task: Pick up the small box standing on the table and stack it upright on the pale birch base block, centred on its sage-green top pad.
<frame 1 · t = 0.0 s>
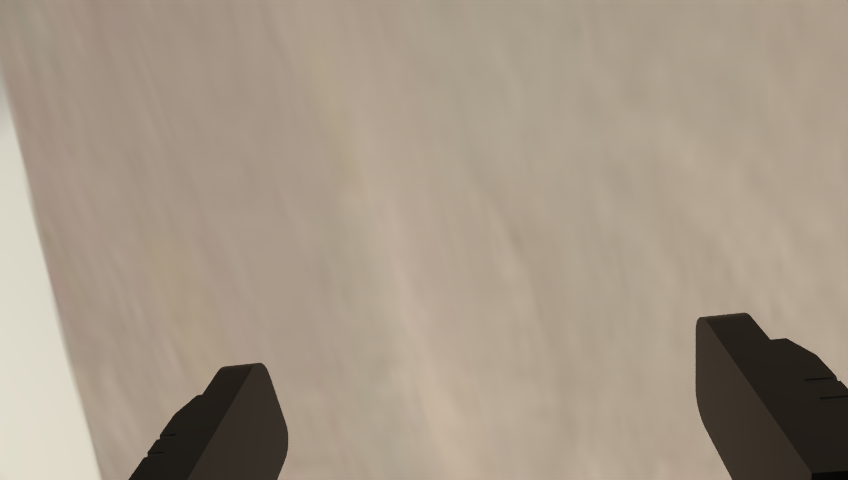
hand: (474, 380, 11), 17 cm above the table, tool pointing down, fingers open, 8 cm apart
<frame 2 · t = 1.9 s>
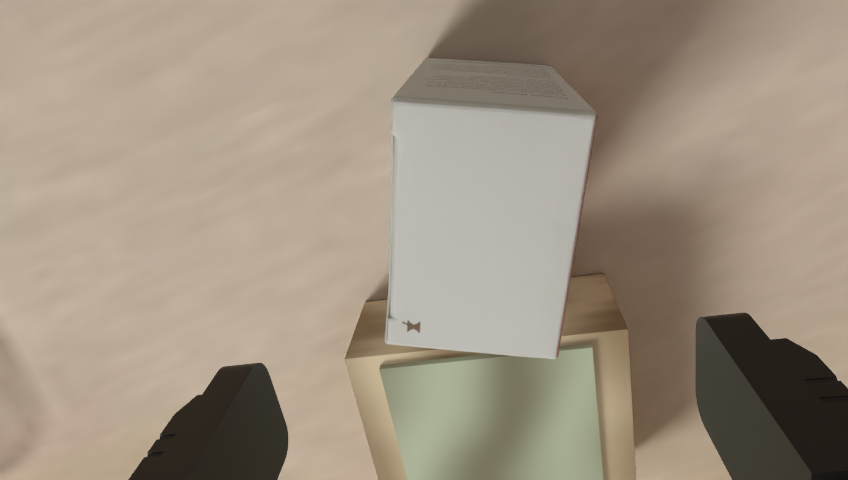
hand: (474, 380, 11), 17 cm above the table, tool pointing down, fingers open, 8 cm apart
small box: (480, 148, 26), on the table
base block: (496, 385, 31), on the table
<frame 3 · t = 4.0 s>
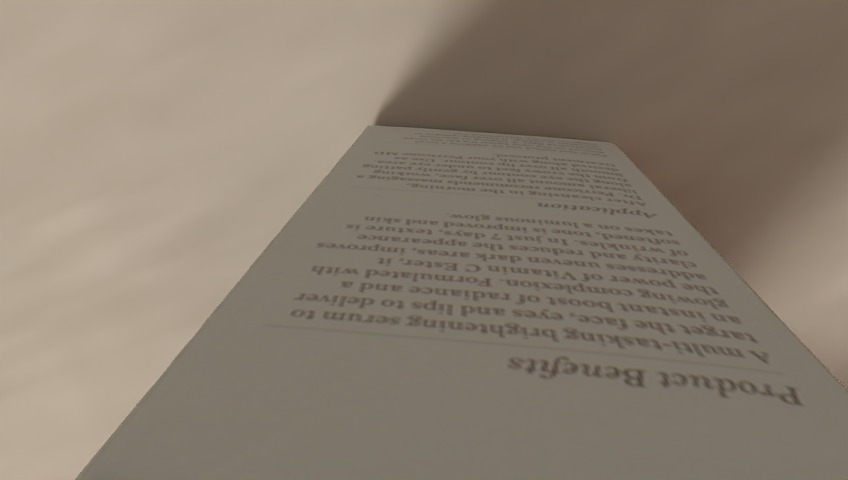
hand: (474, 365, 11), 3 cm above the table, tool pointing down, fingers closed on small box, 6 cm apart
small box: (475, 283, 14), on the table, touching gripper
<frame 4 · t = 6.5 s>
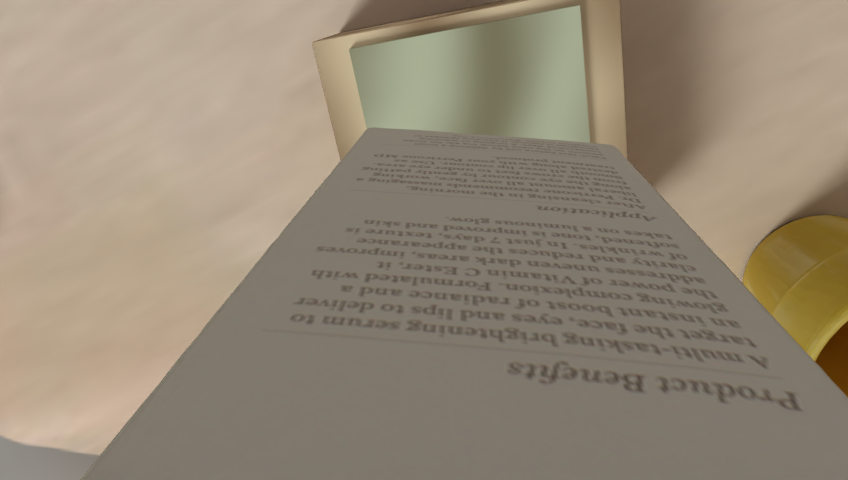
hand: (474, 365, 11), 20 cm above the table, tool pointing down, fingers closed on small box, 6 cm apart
small box: (474, 285, 14), point 16 cm above the table, touching gripper
plant pot: (805, 268, 31), on the table
base block: (480, 134, 29), on the table
when the fingers open (9 cm above the table, at t = 9.3 s): small box moves 1 cm, resting on base block.
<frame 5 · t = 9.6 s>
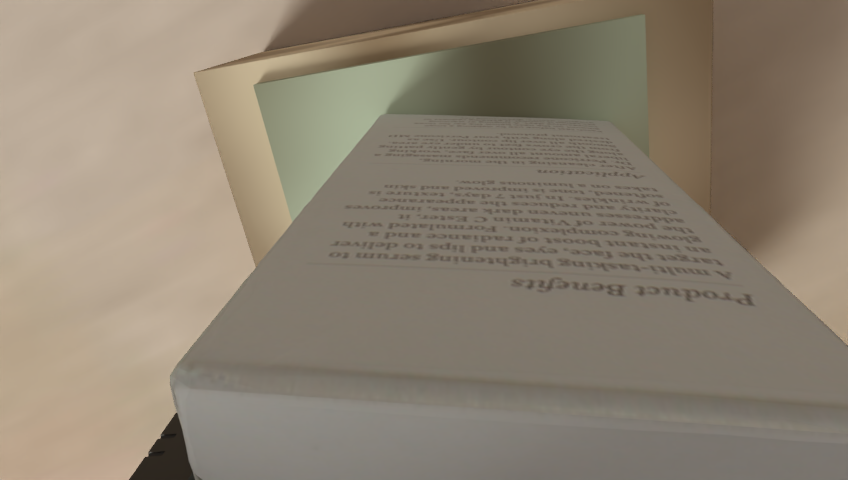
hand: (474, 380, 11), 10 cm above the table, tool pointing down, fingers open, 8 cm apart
small box: (485, 260, 15), point 5 cm above the table, touching base block
base block: (474, 200, 20), on the table
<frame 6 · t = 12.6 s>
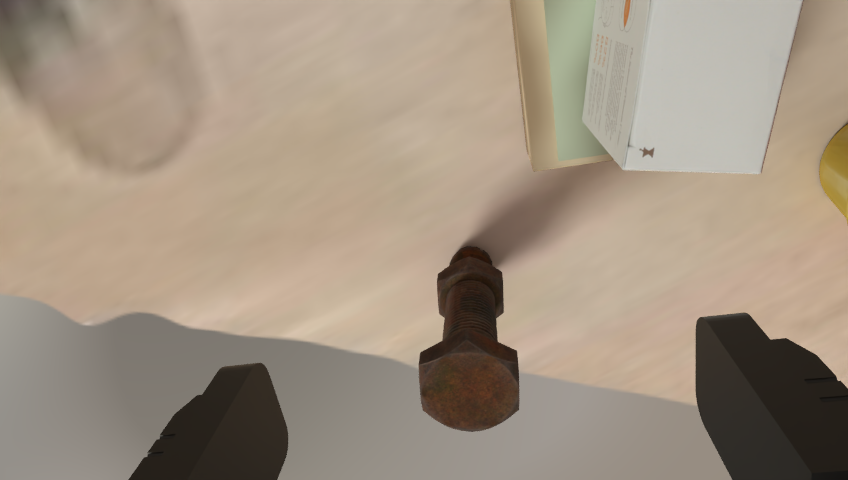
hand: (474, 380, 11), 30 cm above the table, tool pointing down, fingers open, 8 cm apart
small box: (638, 48, 32), point 5 cm above the table, touching base block
bolt: (471, 263, 43), on the table
base block: (612, 43, 36), on the table
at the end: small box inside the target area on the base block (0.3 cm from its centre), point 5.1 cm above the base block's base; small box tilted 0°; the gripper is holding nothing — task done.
